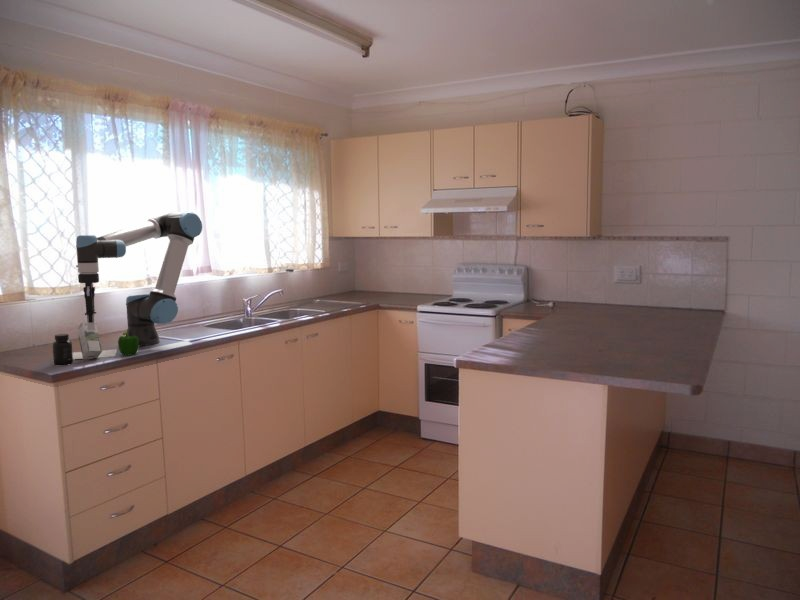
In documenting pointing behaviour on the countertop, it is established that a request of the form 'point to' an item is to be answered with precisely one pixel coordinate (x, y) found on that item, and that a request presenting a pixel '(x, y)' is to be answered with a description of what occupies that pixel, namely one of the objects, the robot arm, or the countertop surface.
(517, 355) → the countertop surface
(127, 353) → the bell pepper
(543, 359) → the countertop surface
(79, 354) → the mat
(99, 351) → the syrup box
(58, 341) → the supplement bottle
